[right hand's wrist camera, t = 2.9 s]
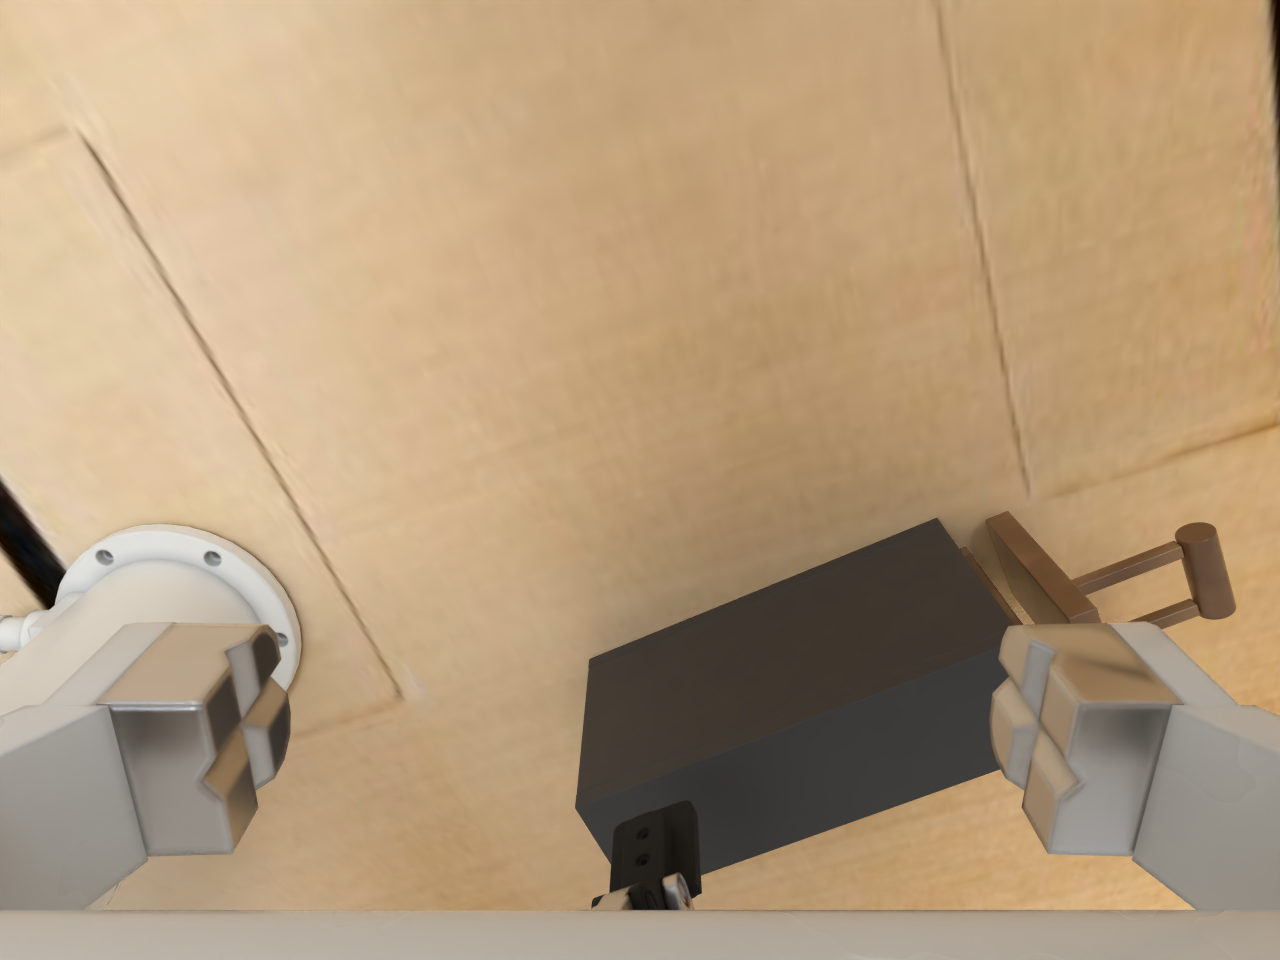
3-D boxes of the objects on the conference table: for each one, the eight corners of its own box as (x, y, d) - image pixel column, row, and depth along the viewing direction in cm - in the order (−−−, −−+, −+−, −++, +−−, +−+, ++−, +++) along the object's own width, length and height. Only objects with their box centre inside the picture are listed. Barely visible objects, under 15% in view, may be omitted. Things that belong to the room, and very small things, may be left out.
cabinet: (937, 517, 46) (1024, 637, 36) (971, 607, 48) (1064, 747, 38) (588, 659, 50) (574, 808, 39) (634, 738, 52) (632, 900, 41)
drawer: (1130, 460, 44) (1252, 549, 35) (1152, 538, 46) (1275, 641, 37) (666, 647, 48) (671, 768, 39) (701, 713, 50) (714, 843, 41)
